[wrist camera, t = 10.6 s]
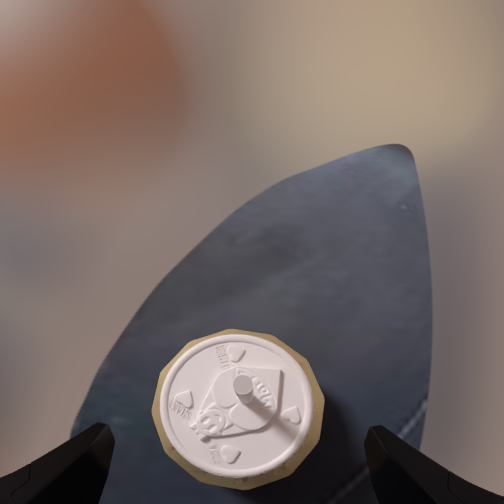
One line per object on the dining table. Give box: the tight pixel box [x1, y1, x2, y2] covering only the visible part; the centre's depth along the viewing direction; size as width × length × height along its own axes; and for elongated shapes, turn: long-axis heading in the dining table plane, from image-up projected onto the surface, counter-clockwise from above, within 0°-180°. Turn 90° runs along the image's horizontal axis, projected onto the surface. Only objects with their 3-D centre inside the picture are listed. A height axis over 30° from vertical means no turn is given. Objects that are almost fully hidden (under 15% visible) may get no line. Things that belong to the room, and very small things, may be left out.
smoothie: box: [160, 334, 313, 478], centre depth 13 cm, size 6×6×14 cm
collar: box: [152, 329, 325, 490], centre depth 17 cm, size 10×10×4 cm
